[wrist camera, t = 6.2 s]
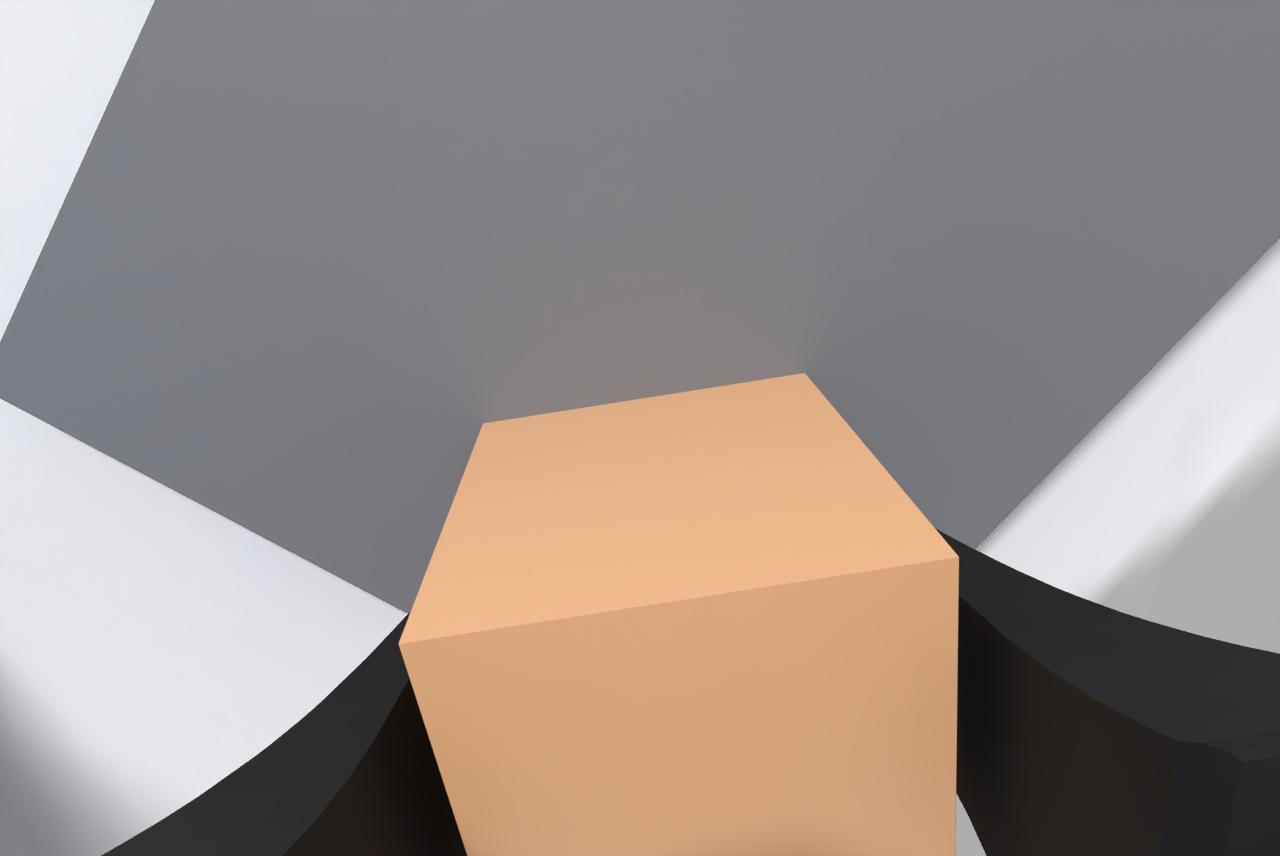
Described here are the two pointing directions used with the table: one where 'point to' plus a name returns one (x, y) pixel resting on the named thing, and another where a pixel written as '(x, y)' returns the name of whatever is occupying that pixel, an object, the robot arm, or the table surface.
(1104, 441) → the table surface
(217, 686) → the table surface
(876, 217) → the duct panel
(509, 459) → the orange cube
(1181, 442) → the table surface
